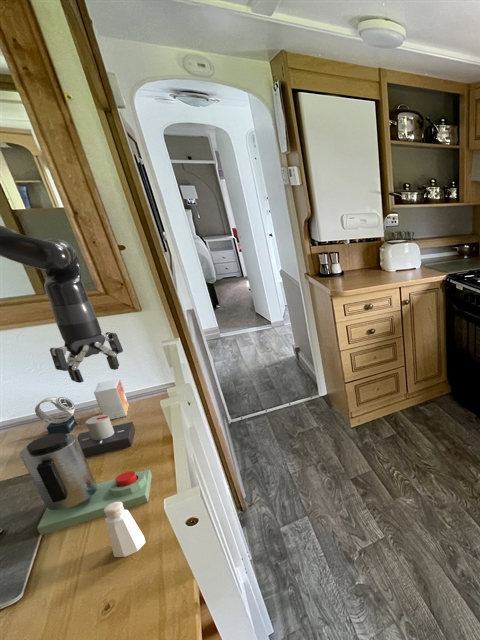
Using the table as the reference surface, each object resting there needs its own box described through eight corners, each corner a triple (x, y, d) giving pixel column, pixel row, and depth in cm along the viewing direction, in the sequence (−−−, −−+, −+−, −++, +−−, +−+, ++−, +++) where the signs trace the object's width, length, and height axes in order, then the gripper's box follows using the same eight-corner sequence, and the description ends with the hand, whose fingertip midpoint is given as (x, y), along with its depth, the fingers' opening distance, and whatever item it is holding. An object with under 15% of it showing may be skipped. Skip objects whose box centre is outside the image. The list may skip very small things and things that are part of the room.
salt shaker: (106, 552, 77) (87, 511, 73) (136, 532, 82) (120, 493, 77) (122, 562, 75) (104, 520, 71) (152, 541, 80) (136, 500, 76)
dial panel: (74, 460, 103) (70, 451, 102) (82, 441, 110) (79, 432, 109) (131, 446, 109) (128, 437, 108) (135, 429, 117) (132, 421, 116)
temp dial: (90, 442, 106) (83, 424, 103) (94, 433, 109) (87, 416, 107) (113, 437, 108) (106, 419, 106) (115, 428, 112) (109, 412, 110)
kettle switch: (116, 489, 88) (114, 483, 88) (118, 480, 91) (116, 474, 90) (136, 483, 90) (134, 477, 90) (138, 475, 93) (135, 469, 92)
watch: (78, 431, 115) (65, 400, 111) (42, 438, 112) (27, 405, 108) (85, 422, 120) (72, 391, 116) (50, 428, 116) (36, 397, 112)
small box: (127, 416, 124) (116, 388, 120) (104, 421, 121) (93, 392, 117) (130, 406, 130) (120, 378, 126) (108, 410, 127) (97, 382, 123)
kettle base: (40, 535, 80) (33, 521, 79) (55, 503, 89) (48, 489, 87) (148, 502, 90) (143, 489, 88) (152, 475, 98) (147, 463, 97)
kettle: (37, 521, 79) (7, 463, 73) (52, 492, 87) (25, 437, 81) (92, 505, 83) (67, 449, 78) (100, 478, 91) (78, 426, 85)
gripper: (97, 310, 105) (115, 363, 111) (30, 325, 92) (55, 384, 98) (117, 313, 103) (135, 367, 109) (53, 328, 90) (77, 388, 96)
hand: (97, 375), depth 103 cm, fingers open, 8 cm apart
